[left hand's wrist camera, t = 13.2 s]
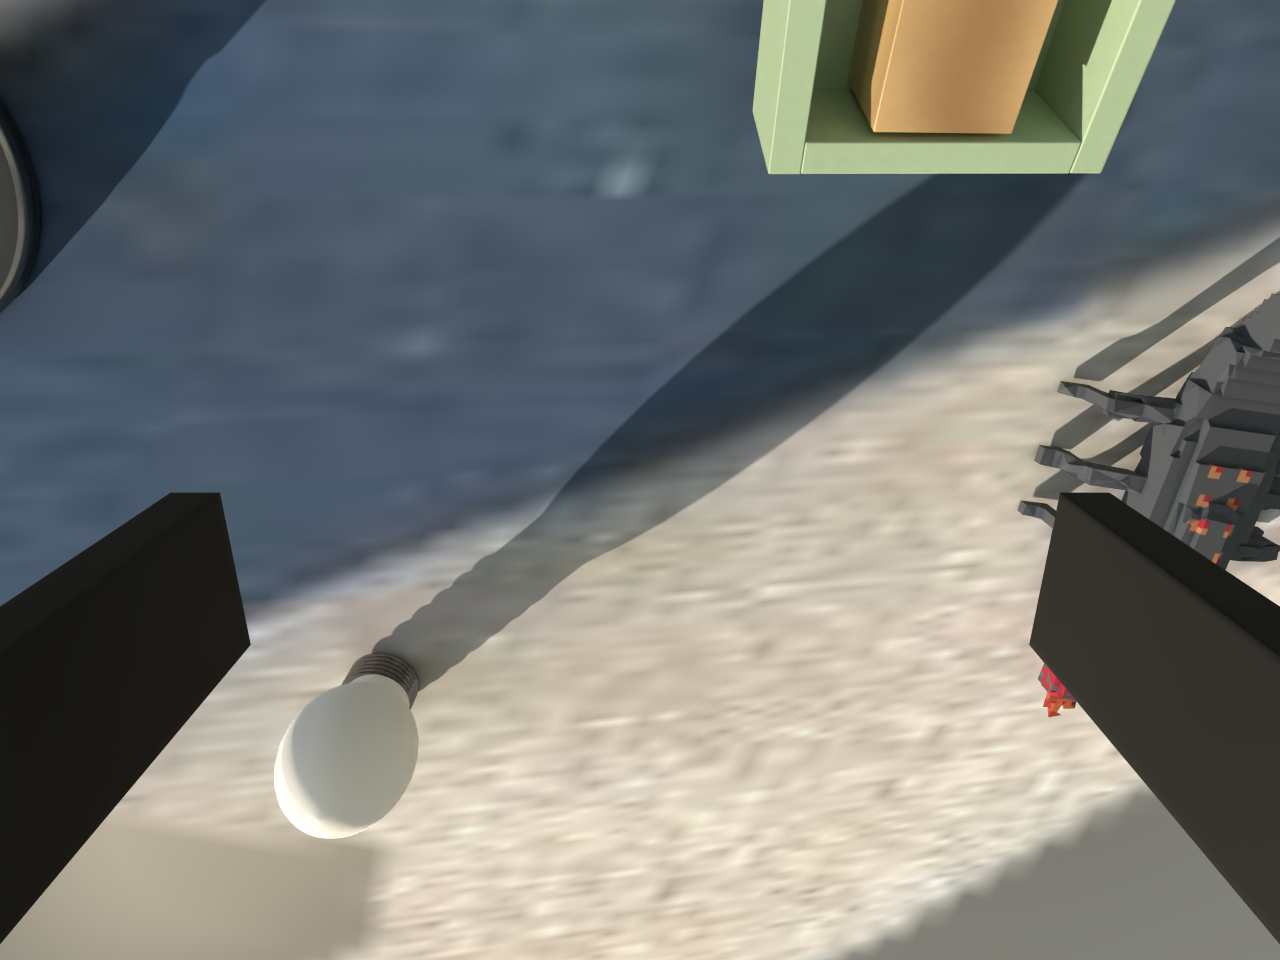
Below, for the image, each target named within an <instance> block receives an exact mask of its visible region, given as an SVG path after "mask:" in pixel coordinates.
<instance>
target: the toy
mask: <svg viewBox="0 0 1280 960" xmlns="http://www.w3.org/2000/svg"><path fill="white" fill-rule="evenodd" d="M1058 392H1059V393H1062V394H1066V395H1069V396H1073V397H1077V398H1081V399H1084V400H1086V401H1088V402H1090V403H1092V404H1095V405H1097V406H1099V407H1101V408H1103V411H1102V413H1103V414H1105V415H1107V416H1110V417H1119V418H1128V419H1132V420H1134V421H1139V422H1151V423H1160V424H1158V425H1155V426H1152V427H1151V429H1150V432H1149V434H1148V436H1147V438H1146V441H1145V443H1144V445H1143V448H1142V450H1141V452H1140V455H1141V457H1142V458H1141V460H1140V462H1139V464H1138V466H1137V467H1136V469H1135V471H1134V472H1133V471H1130V470H1127V469H1122V468H1116V467H1111V466H1105V465H1100V464H1095V463H1089V462H1084V461H1082V460H1081V459H1079V458H1078V457H1076V456H1075V455H1074V454H1072V453H1071V452H1069V451H1066V450H1064V449H1062V448H1057V447H1050V446H1042V445H1039V448H1038V451H1037V454H1036V457H1035V460H1034V461H1036V462H1037V463H1039V464H1041V465H1046V466H1050V467H1055V468H1059V469H1062V470H1064V471H1067V472H1068V473H1070V474H1071V475H1073V476H1074V477H1076V478H1077V479H1079V480H1081V481H1083V482H1085V483H1087V484H1089V485H1094V486H1101V487H1108V488H1114V489H1121V490H1126V491H1125V494H1124V496H1123V499H1122V502H1124V503H1125V504H1127V505H1128V506H1130V507H1131V508H1133V509H1134V510H1136V511H1137V512H1139V513H1140V514H1142V515H1143V516H1145V517H1146V518H1148V519H1149V520H1151V521H1152V522H1154V523H1155V524H1157V525H1158V526H1160V527H1161V528H1163V529H1164V530H1166V531H1167V532H1169V533H1170V534H1172V535H1173V536H1175V537H1176V538H1178V539H1179V540H1181V541H1182V542H1184V543H1185V544H1187V545H1188V546H1190V547H1191V548H1193V549H1194V550H1196V551H1197V552H1199V553H1200V554H1202V555H1203V556H1205V557H1206V558H1208V559H1209V560H1211V561H1212V562H1214V563H1215V564H1217V565H1218V566H1220V567H1221V568H1223V569H1224V570H1226V567H1227V565H1228V563H1229V560H1234V561H1258V562H1265V561H1272V560H1277V556H1278V552H1279V551H1280V546H1279V545H1277V544H1275V543H1273V542H1271V541H1270V540H1268V539H1266V538H1264V537H1263V536H1262V535H1263V534H1264V532H1263V531H1262V530H1261V529H1260V528H1258V527H1254V525H1255V523H1256V521H1257V518H1258V516H1259V513H1260V511H1261V509H1262V510H1267V509H1271V508H1272V509H1280V478H1277V477H1275V475H1276V472H1277V464H1278V462H1279V459H1280V295H1278V294H1271V297H1270V299H1269V300H1265V299H1264V301H1263V303H1262V306H1261V308H1260V311H1259V312H1253V315H1252V317H1251V318H1249V317H1246V318H1245V320H1244V321H1243V322H1242V323H1241V324H1239V325H1237V326H1236V327H1234V328H1230V327H1226V328H1225V329H1224V330H1223V332H1222V333H1221V335H1220V336H1219V337H1218V338H1217V339H1216V340H1215V342H1214V344H1213V346H1212V347H1211V349H1210V351H1209V352H1208V354H1207V356H1206V357H1205V359H1204V360H1203V362H1202V363H1201V365H1200V367H1199V368H1198V369H1197V370H1196V371H1195V372H1194V373H1193V372H1191V374H1190V375H1189V377H1188V378H1187V380H1186V381H1185V383H1184V385H1183V386H1182V388H1181V390H1180V391H1179V393H1178V395H1177V397H1176V399H1174V398H1163V397H1152V396H1137V395H1132V394H1127V393H1122V392H1117V391H1112V390H1110V391H1109V393H1106V392H1103V391H1101V390H1098V389H1096V388H1094V387H1092V386H1089V385H1085V384H1077V383H1070V382H1063V381H1061V383H1060V386H1059V389H1058ZM1018 511H1019V512H1020V513H1021V514H1023V515H1028V516H1033V517H1037V518H1040V519H1042V520H1043V521H1044V522H1045V523H1047V524H1048V525H1049V526H1050V527H1052V528H1053V526H1054V521H1055V516H1056V510H1054V509H1053V508H1052V507H1050V506H1049V505H1048V504H1044V503H1036V502H1028V501H1021V502H1020V505H1019V508H1018ZM1038 680H1039V681H1040V682H1041V685H1042V686H1043V687H1044V688H1045V689H1046V690H1047V695H1046V698H1045V702H1044V705H1043V707H1048V717H1052V716H1058V715H1060V714H1059V713H1057V711H1058V710H1059V708H1060V707H1061V705H1063V709H1070V708H1075V705H1076V700H1075V699H1074V698H1073V696H1072V695H1071V694H1070V693H1069V692H1068V690H1067V689H1066V688H1065V687H1064V686H1063V684H1062V683H1061V682H1060V681H1059V680H1058V678H1057V677H1056V676H1055V675H1054V674H1053V672H1052V671H1051V670H1050V669H1049V668H1048V666H1047V665H1046V664H1045V663H1044V666H1043V668H1042V670H1041V673H1040V675H1039V677H1038Z"/></svg>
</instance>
